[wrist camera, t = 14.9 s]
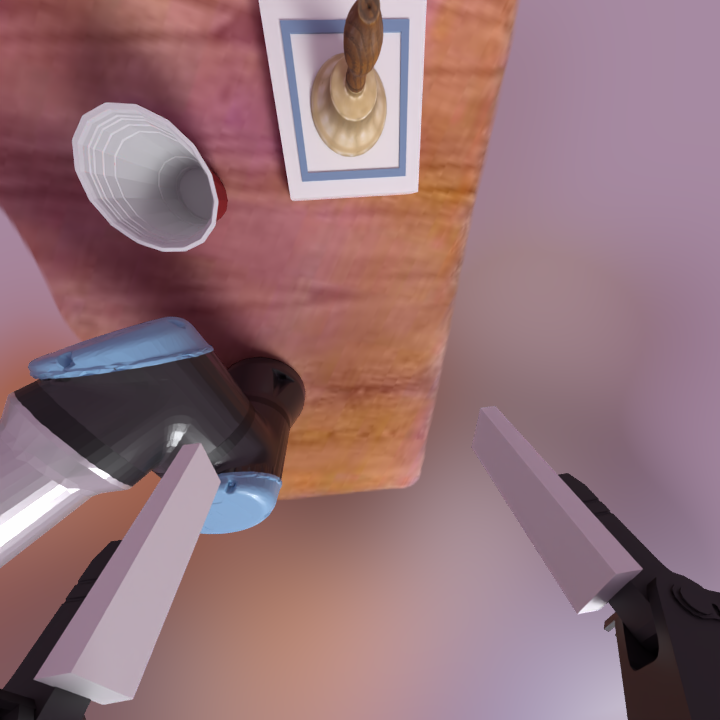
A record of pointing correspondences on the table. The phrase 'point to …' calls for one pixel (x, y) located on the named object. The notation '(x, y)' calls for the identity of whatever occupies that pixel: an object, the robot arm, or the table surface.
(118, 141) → the plastic cup
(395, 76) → the display board
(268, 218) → the table surface
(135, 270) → the table surface
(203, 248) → the table surface
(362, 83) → the hand bell
